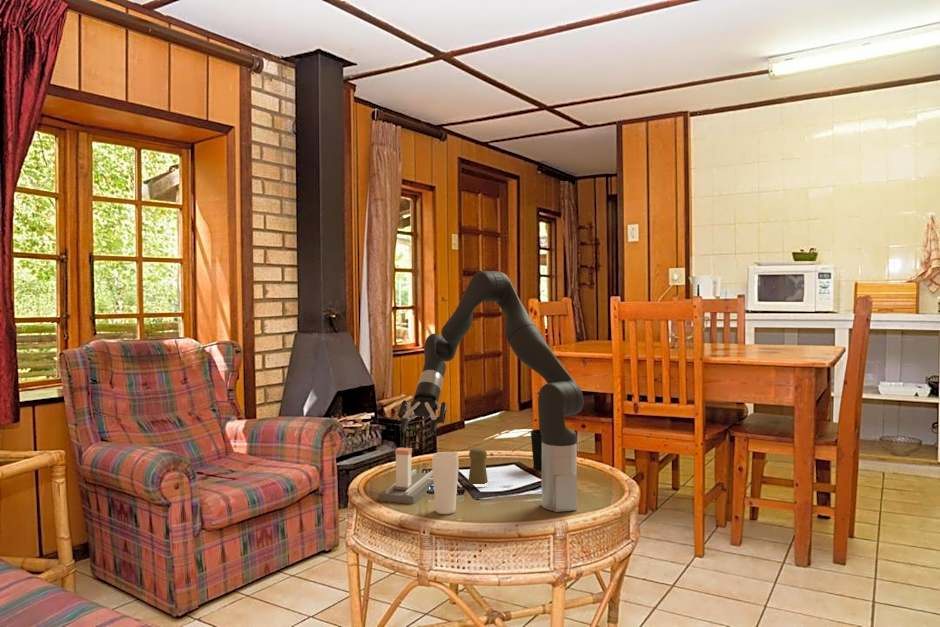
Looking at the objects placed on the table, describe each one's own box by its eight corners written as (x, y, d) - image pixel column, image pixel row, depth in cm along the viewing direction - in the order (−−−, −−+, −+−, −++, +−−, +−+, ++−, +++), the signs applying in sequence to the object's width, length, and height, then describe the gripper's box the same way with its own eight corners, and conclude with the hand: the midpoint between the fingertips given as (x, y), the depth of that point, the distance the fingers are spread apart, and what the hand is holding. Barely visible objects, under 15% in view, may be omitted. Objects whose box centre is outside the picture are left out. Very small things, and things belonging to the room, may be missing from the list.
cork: (488, 488, 206) (488, 450, 205) (467, 488, 206) (467, 450, 205) (488, 482, 212) (488, 446, 211) (467, 482, 212) (468, 445, 212)
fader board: (408, 478, 216) (408, 468, 216) (440, 480, 214) (440, 470, 214) (378, 500, 193) (378, 490, 193) (413, 503, 191) (413, 492, 191)
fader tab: (399, 485, 200) (399, 447, 200) (412, 486, 199) (412, 447, 199) (394, 489, 196) (394, 450, 196) (408, 490, 195) (407, 451, 195)
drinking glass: (430, 515, 181) (430, 457, 180) (435, 507, 188) (434, 451, 187) (456, 516, 180) (456, 458, 180) (460, 508, 187) (460, 452, 186)
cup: (525, 468, 229) (525, 431, 228) (541, 464, 234) (541, 428, 233) (543, 472, 223) (543, 435, 222) (559, 468, 228) (559, 431, 227)
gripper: (404, 379, 218) (390, 423, 207) (448, 381, 214) (437, 426, 204) (410, 394, 223) (397, 438, 213) (453, 396, 219) (442, 440, 209)
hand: (416, 432), depth 208 cm, fingers open, 8 cm apart
